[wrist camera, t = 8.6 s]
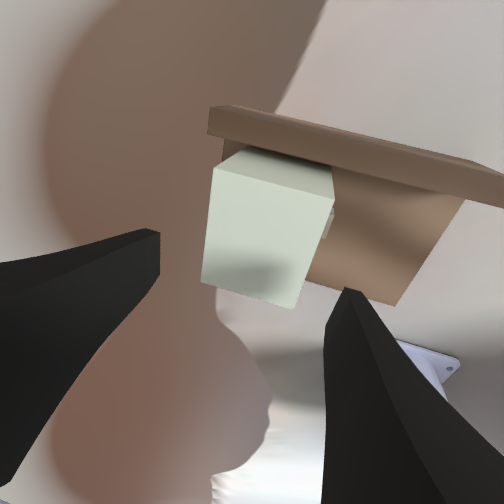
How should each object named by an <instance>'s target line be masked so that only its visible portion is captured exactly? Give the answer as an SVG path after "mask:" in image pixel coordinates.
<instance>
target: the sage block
mask: <svg viewBox="0 0 504 504" xmlns="http://www.w3.org/2000/svg"><path fill="white" fill-rule="evenodd" d="M334 201H335V196H334V188H333V180H332V172H331V166H327V165H323V164H319V163H315V162H311V161H307V160H303V159H299V158H295V157H291V156H287V155H283V154H279V153H275V152H272V151H268V150H264V149H260V148H256V147H252V146H247V147H245V148H244V149H242V150H241V151H239V152H238V153H236V154H234V155H233V156H231V157H230V158H228V159H227V160H225V161H223V162H222V163H220V164H219V165H217V166H216V167H214V168H213V177H212V185H211V194H210V203H209V212H208V221H207V230H206V238H205V247H204V256H203V265H202V274H201V282H203V283H207V284H210V285H213V286H216V287H220V288H223V289H226V290H229V291H233V292H236V293H239V294H242V295H246V296H249V297H252V298H255V299H259V300H262V301H265V302H268V303H272V304H275V305H278V306H281V307H285V308H288V309H291V310H293V309H294V307H295V304H296V301H297V299H298V296H299V293H300V291H301V288H302V285H303V283H304V280H305V278H306V275H307V272H308V270H309V267H310V264H311V262H312V259H313V256H314V254H315V251H316V248H317V246H318V243H319V241H320V238H321V235H322V233H323V230H324V227H325V225H326V222H327V219H328V217H329V214H330V212H331V209H332V206H333V204H334Z"/></svg>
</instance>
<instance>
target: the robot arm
mask: <svg viewBox="0 0 504 504" xmlns="http://www.w3.org/2000/svg"><path fill="white" fill-rule="evenodd" d="M159 275H160V232H157V231H153V230H150V229H146V228H145V229H140V230H136V231H132V232H128V233H125V234H121V235H118V236H115V237H111V238H108V239H104V240H101V241H97V242H94V243H91V244H87V245H83V246H79V247H75V248H71V249H68V250H63V251H60V252H55V253H51V254H46V255H42V256H37V257H31V258H26V259H21V260H15V261H9V262H1V263H0V487H2V486H4V485H5V484H7V483H8V482H10V481H11V479H12V478H13V476H14V474H15V473H16V471H17V469H18V468H19V466H20V464H21V463H22V461H23V459H24V458H25V456H26V454H27V453H28V451H29V450H30V448H31V446H32V445H33V443H34V441H35V440H36V438H37V437H38V435H39V434H40V432H41V430H42V429H43V427H44V426H45V424H46V423H47V421H48V420H49V418H50V417H51V415H52V414H53V412H54V411H55V409H56V407H57V406H58V405H59V403H60V401H61V400H62V398H63V397H64V396H65V394H66V393H67V391H68V390H69V388H70V387H71V386H72V384H73V383H74V381H75V380H76V378H77V377H78V375H79V374H80V373H81V371H82V370H83V369H84V367H85V366H86V364H87V363H88V362H89V361H90V359H91V358H92V356H93V355H94V354H95V352H96V351H97V350H98V348H99V347H100V346H101V345H102V344H103V342H104V341H105V340H106V338H108V336H109V335H110V334H111V333H112V332H113V331H114V330H115V329H116V328H117V326H118V325H119V324H120V323H121V322H122V321H123V320H124V319H125V318H126V317H127V316H128V314H129V313H130V312H131V311H132V310H133V309H134V308H135V306H136V305H137V304H138V303H139V302H140V301H141V300H142V299H143V298H144V297H145V295H146V294H147V293H148V291H149V290H150V289H151V287H152V286H153V284H154V283H155V281H156V279H157V278H158V276H159ZM323 357H324V381H325V403H326V435H325V454H324V470H323V484H322V497H321V504H504V456H503V455H501V454H500V453H499V452H498V451H497V450H496V449H495V448H494V447H493V446H492V445H491V444H490V443H489V442H487V441H486V440H485V439H484V438H483V437H482V436H481V435H480V434H479V433H478V432H477V431H476V430H475V429H474V428H473V427H472V426H471V425H470V424H469V423H468V422H467V421H466V420H465V419H464V418H463V417H462V416H461V415H460V414H459V413H458V412H457V411H456V410H455V409H454V408H453V407H452V406H451V405H450V404H449V402H448V399H447V397H446V395H445V392H444V390H443V387H442V384H443V383H444V382H445V381H446V380H447V379H448V378H449V377H450V376H451V375H452V374H453V373H454V372H455V371H456V370H457V369H458V368H459V367H460V362H459V360H458V359H456V358H454V357H451V356H447V355H444V354H441V353H438V352H434V351H431V350H428V349H425V348H421V347H418V346H415V345H412V344H408V343H405V342H402V341H399V340H395V338H394V337H393V336H392V334H391V333H390V331H389V330H388V329H387V327H386V326H385V324H384V323H383V322H382V320H381V319H380V317H379V316H378V314H377V313H376V311H375V310H374V308H373V307H372V306H371V304H370V303H369V301H368V300H367V298H366V297H365V295H364V294H363V293H362V292H361V291H358V290H355V289H351V288H348V287H344V289H343V291H342V293H341V295H340V297H339V299H338V301H337V303H336V305H335V307H334V309H333V311H332V313H331V315H330V317H329V320H328V322H327V324H326V326H325V336H324V348H323ZM0 504H9V503H7V502H5V501H3V500H0Z"/></svg>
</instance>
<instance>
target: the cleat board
mask: <svg viewBox="0 0 504 504" xmlns="http://www.w3.org/2000/svg"><path fill="white" fill-rule="evenodd" d="M208 134H209V135H213V136H217V137H222V138H225V140H224V148H223V156H222V162H223V161H225V160H227V159H228V158H230V157H231V156H233V155H234V154H236V153H238V152H239V151H241V150H242V149H244V148H245V147H247V146H252V147H256V148H260V149H264V150H268V151H272V152H275V153H279V154H283V155H287V156H291V157H295V158H299V159H303V160H307V161H311V162H315V163H319V164H323V165H327V166H331V172H332V180H333V188H334V196H335V201H334V204H333V206H332V209H331V212H330V214H329V217H328V219H327V222H326V225H325V227H324V230H323V233H322V235H321V238H320V241H319V243H318V246H317V248H316V251H315V254H314V256H313V259H312V262H311V264H310V267H309V270H308V272H307V275H306V278H305V280H306V281H310V282H313V283H316V284H320V285H323V286H327V287H330V288H333V289H337V290H340V291H343V289H344V287H348V288H351V289H355V290H358V291H361V292H362V293H363V294H364V295H365V297H366V298H367V299H371V300H374V301H377V302H381V303H384V304H388V305H391V306H394V307H395V306H396V304H397V303H398V301H399V300H400V298H401V297H402V295H403V293H404V292H405V290H406V289H407V287H408V286H409V284H410V283H411V281H412V280H413V278H414V277H415V275H416V274H417V272H418V271H419V269H420V268H421V266H422V264H423V263H424V261H425V260H426V258H427V257H428V255H429V254H430V252H431V251H432V249H433V248H434V246H435V245H436V243H437V242H438V240H439V239H440V237H441V235H442V234H443V232H444V231H445V229H446V228H447V226H448V225H449V223H450V222H451V220H452V219H453V217H454V216H455V214H456V213H457V211H458V210H459V208H460V206H461V205H462V203H463V202H464V200H465V199H468V200H472V201H476V202H480V203H484V204H488V205H492V206H496V207H500V208H504V174H502V173H500V172H497V171H495V170H492V169H490V168H488V167H485V166H483V165H480V164H478V163H476V162H473V161H470V160H465V159H461V158H457V157H453V156H449V155H445V154H440V153H436V152H432V151H428V150H424V149H419V148H415V147H411V146H407V145H403V144H398V143H394V142H390V141H386V140H382V139H377V138H373V137H369V136H365V135H361V134H356V133H352V132H348V131H344V130H340V129H335V128H331V127H327V126H323V125H319V124H314V123H310V122H306V121H302V120H298V119H293V118H289V117H285V116H281V115H277V114H272V113H268V112H264V111H260V110H255V109H251V108H247V107H243V106H239V105H228V106H215V107H210V112H209V123H208Z"/></svg>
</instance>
